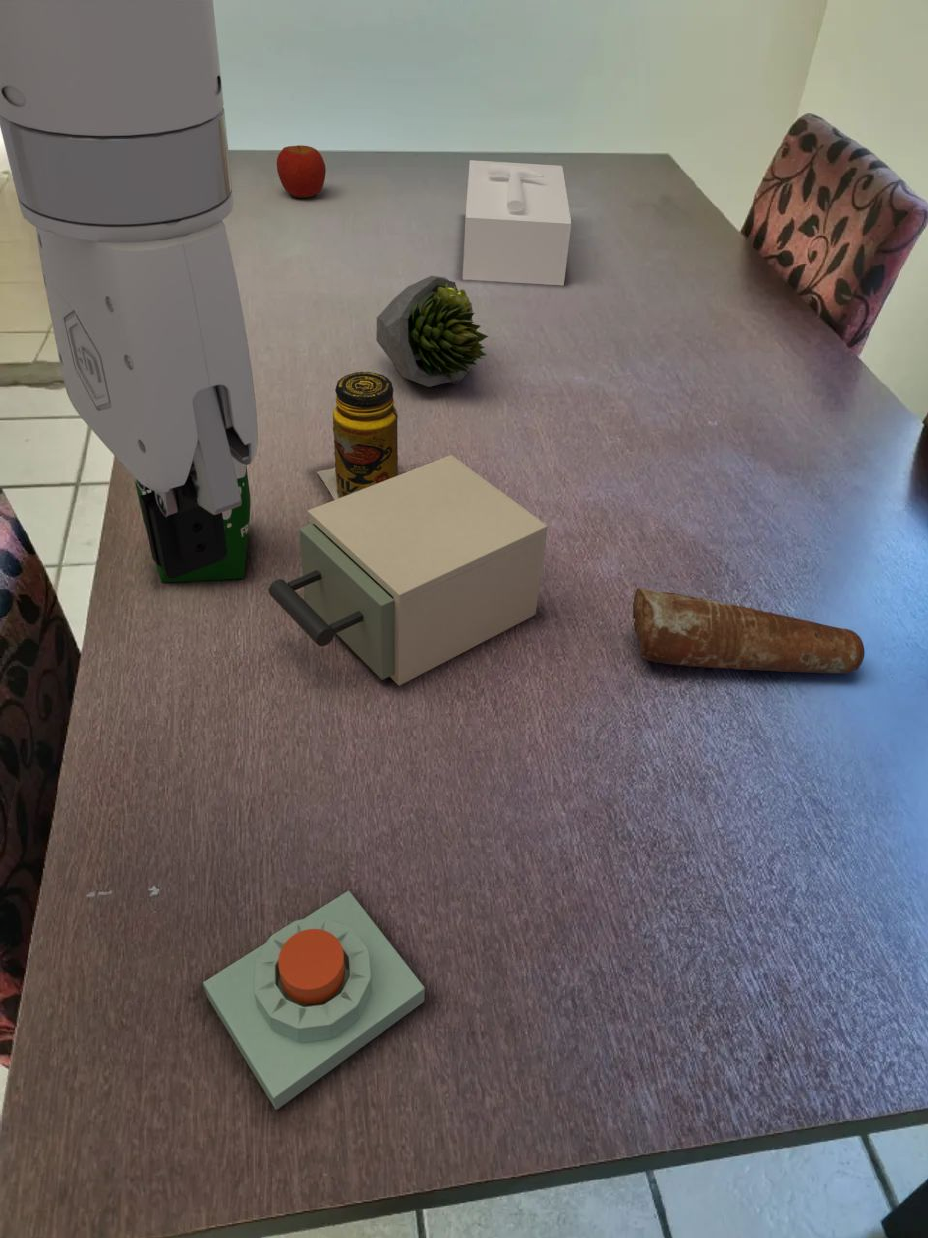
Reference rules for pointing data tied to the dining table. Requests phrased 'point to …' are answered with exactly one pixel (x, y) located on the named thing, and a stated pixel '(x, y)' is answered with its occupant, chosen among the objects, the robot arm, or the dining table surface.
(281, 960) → the button
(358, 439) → the condiment
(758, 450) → the dining table surface
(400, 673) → the cabinet
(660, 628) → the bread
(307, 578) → the drawer
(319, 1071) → the block
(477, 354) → the potted plant
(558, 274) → the white embossed block
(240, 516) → the milk carton
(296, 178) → the apple
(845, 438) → the dining table surface
